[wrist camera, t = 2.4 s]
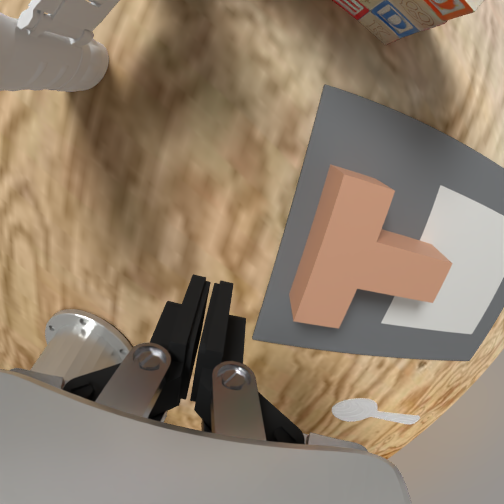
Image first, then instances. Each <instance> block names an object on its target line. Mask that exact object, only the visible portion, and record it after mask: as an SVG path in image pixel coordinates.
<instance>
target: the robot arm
mask: <svg viewBox="0 0 504 504" xmlns="http://www.w3.org/2000/svg"><path fill="white" fill-rule="evenodd" d="M209 287H210V282H208V281H206V277H202V276H197V275H193V276H192V278H191V281H190V284H189V286H188V289H187V292H186V294H185V297H184V300H183V303H182V304H178V303H174V302H170V301H168V302H167V303H166V305H165V307H164V310H163V312H162V314H161V317H160V319H159V321H158V324H157V326H156V329H155V331H154V333H153V336H152V338H151V341H150V343H141V344H138V345H136V346H134V347H133V348H132V346H131V345H130V344H129V342H128V341H127V339H126V338H125V337H124V336H123V335H122V334H121V333H120V332H119V331H118V330H117V329H115V328H114V327H113V326H112V325H111V324H109V323H108V322H106V321H105V320H103V319H101V318H99V317H97V316H95V315H93V314H91V313H88V312H85V311H82V310H76V309H65V310H61V311H59V312H57V313H55V314H54V315H53V316H52V318H51V319H50V320H49V321H48V323H47V325H46V329H45V337H46V341H47V346H46V348H45V349H44V351H43V352H42V354H41V355H40V357H39V358H38V359H37V361H36V362H35V364H34V365H33V367H32V368H31V370H30V371H29V370H25V369H19V368H15V369H11V370H4V369H0V504H412V503H411V500H410V496H409V493H408V489H407V486H406V484H405V481H404V479H403V477H402V475H401V473H400V471H399V470H398V468H397V467H396V466H395V465H394V464H393V463H392V462H390V461H389V460H387V459H385V458H383V457H381V456H378V455H375V454H372V453H369V452H368V451H367V449H366V448H365V447H363V446H362V445H360V444H357V443H353V442H349V441H344V440H339V439H335V438H331V437H326V436H322V435H318V434H314V433H311V432H310V433H309V435H308V434H304V433H302V431H301V430H300V429H299V428H298V427H297V426H296V425H295V424H293V423H292V422H291V421H290V420H289V419H288V418H287V417H285V416H284V415H283V414H282V413H281V412H280V411H279V410H278V409H276V408H275V407H274V406H273V405H272V404H271V403H270V402H269V401H268V400H267V399H265V398H264V397H263V396H262V395H261V394H260V393H259V392H258V389H257V383H256V378H255V375H254V373H253V372H252V370H251V369H250V368H249V367H247V366H246V365H244V364H243V354H244V340H245V325H246V318H243V317H238V316H233V315H229V310H230V303H231V297H232V290H233V283H229V282H225V281H220V284H217V283H214V287H213V291H212V295H211V299H210V303H209V308H208V312H207V316H206V320H205V324H204V329H203V333H202V337H201V341H200V336H201V331H202V326H203V320H204V314H205V309H206V303H207V298H208V293H209ZM199 341H200V346H199V351H198V357H197V362H196V368H195V374H194V381H193V387H192V393H191V399H190V401H195V402H196V404H195V409H194V410H195V411H196V412H197V414H198V415H199V416H200V417H201V418H202V423H201V428H202V431H199V430H194V429H189V428H185V427H180V426H176V425H171V424H167V423H163V422H164V420H165V418H166V416H167V412H168V410H170V409H172V408H174V407H176V406H179V403H180V399H186V397H187V393H188V388H189V384H190V379H191V375H192V370H193V366H194V362H195V358H196V353H197V349H198V345H199Z"/></svg>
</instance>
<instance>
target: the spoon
mask: <svg viewBox="0 0 504 504" xmlns="http://www.w3.org/2000/svg"><path fill="white" fill-rule="evenodd" d="M332 413H333V415H334V416H335V417H336V418H338V419H340V420H344V421H350V422H351V421H359V420H360V421H361V420H362V419H363V420H364V419H365V418H368V417H374V418H375V417H376V418H380V419H384V420H390V421H394V422H399V423H404V424H413V423H414V422H417V421H418V420H419V418H420V416H418V415H417V416H416V415H407V414H397V413H390V412H381V411H377V404H376V402H375V401H373V400H371V399H366V398H354V399H348V400H343V401H340V402H338V403H336V404H335V405H334V406H333V407H332Z"/></svg>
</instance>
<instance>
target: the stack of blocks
mask: <svg viewBox="0 0 504 504" xmlns="http://www.w3.org/2000/svg"><path fill="white" fill-rule="evenodd" d="M333 1H334V2H335V3H336V4H338V5H339V6H340V7H342V8H343V9H344V10H346V11H347V12H348V13H349V14H351V15H352V16H353V17H354V18H356V19H357V20H358V21H359V22H360V23H361V24H362V25H363V26H365V27H366V28H367V29H368V30H369V31H370V32H371V33H373V34H374V35H375V36H376V37H377V38H378V39H379V40H380V41H381V42H382V43H384V44H385V45H386V44H389V43H391V42H393V41H396V40H399V39H401V38H402V37H405V36H408V35H411V34H413V33H416V32H419V31H424V30H428V29H430V28H433V27H436V26H440V25H442V24H445V23H446V22H447V21H448V20H450V19H453V18H456V17H459V16H463V15H466V14H470V13H473V12H475V11H476V10H477V9H478V7H479V6H480V5H481V4H482V2H483V1H484V0H333Z"/></svg>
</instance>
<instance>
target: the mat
mask: <svg viewBox="0 0 504 504" xmlns="http://www.w3.org/2000/svg"><path fill="white" fill-rule="evenodd" d="M330 164H331V165H334V166H337V167H341V168H344V169H347V170H350V171H354V172H357V173H360V174H363V175H366V176H369V177H372V178H375V179H377V180H378V181H380V182H382V183H383V184H385V185H387V186H388V187H390V188H391V189H393V190H395V193H394V196H393V199H392V201H391V204H390V207H389V210H388V213H387V216H386V218H385V221H384V224H383V226H382V229H383V230H386V231H390V232H393V233H396V234H400V235H403V236H407V237H410V238H413V239H417V240H420V241H423V242H426V243H430V244H432V245H433V246H434V247H435V248H436V249H437V250H439V251H440V252H441V253H442V254H443V255H444V256H445V257H446V258H447V259H448V260H449V261H450V262H452V263H453V264H452V266H451V268H450V270H449V272H448V274H447V276H446V278H445V280H444V282H443V284H442V286H441V288H440V290H439V292H438V294H437V296H436V298H435V300H434V302H433V303H430V302H425V301H419V300H414V299H409V298H403V297H398V296H393V295H388V294H382V293H377V292H372V291H367V290H362V289H357V290H356V292H355V295H354V297H353V299H352V301H351V304H350V306H349V308H348V310H347V312H346V314H345V317H344V319H343V321H342V323H341V325H340V327H339V328H332V327H325V326H319V325H313V324H307V323H300V322H295V321H293V315H292V309H291V303H290V297H289V293H290V290H291V287H292V284H293V281H294V278H295V275H296V272H297V269H298V266H299V263H300V260H301V257H302V254H303V251H304V248H305V245H306V242H307V239H308V236H309V233H310V230H311V226H312V223H313V220H314V217H315V214H316V210H317V207H318V204H319V201H320V197H321V194H322V191H323V187H324V184H325V181H326V177H327V174H328V171H329V167H330ZM503 307H504V168H502V167H501V166H499V165H498V164H496V163H495V162H493V161H491V160H490V159H488V158H487V157H485V156H483V155H482V154H480V153H478V152H477V151H475V150H473V149H472V148H470V147H468V146H466V145H465V144H463V143H461V142H459V141H457V140H456V139H454V138H452V137H450V136H448V135H446V134H444V133H442V132H440V131H438V130H437V129H435V128H433V127H431V126H428V125H426V124H424V123H422V122H420V121H418V120H416V119H414V118H412V117H409V116H407V115H405V114H403V113H400V112H398V111H396V110H393V109H391V108H389V107H386V106H384V105H381V104H379V103H376V102H374V101H371V100H369V99H366V98H363V97H361V96H358V95H355V94H352V93H349V92H347V91H344V90H341V89H338V88H335V87H332V86H328V85H324V87H323V91H322V95H321V99H320V103H319V107H318V110H317V114H316V118H315V122H314V126H313V129H312V133H311V137H310V141H309V144H308V148H307V152H306V155H305V159H304V163H303V166H302V170H301V173H300V177H299V181H298V184H297V188H296V191H295V195H294V198H293V202H292V206H291V209H290V213H289V216H288V220H287V223H286V227H285V230H284V233H283V237H282V240H281V244H280V247H279V251H278V254H277V257H276V261H275V264H274V267H273V271H272V274H271V278H270V281H269V284H268V287H267V291H266V294H265V297H264V301H263V304H262V307H261V310H260V314H259V317H258V320H257V323H256V327H255V330H254V333H253V336H252V339H254V340H259V341H265V342H271V343H278V344H284V345H290V346H297V347H304V348H311V349H319V350H327V351H335V352H343V353H352V354H362V355H372V356H383V357H396V358H410V359H428V360H454V361H470V359H471V358H472V357H473V355H474V354H475V352H476V351H477V349H478V348H479V346H480V345H481V343H482V342H483V340H484V339H485V337H486V336H487V334H488V332H489V331H490V329H491V328H492V326H493V324H494V323H495V321H496V319H497V318H498V316H499V314H500V313H501V311H502V309H503Z"/></svg>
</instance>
